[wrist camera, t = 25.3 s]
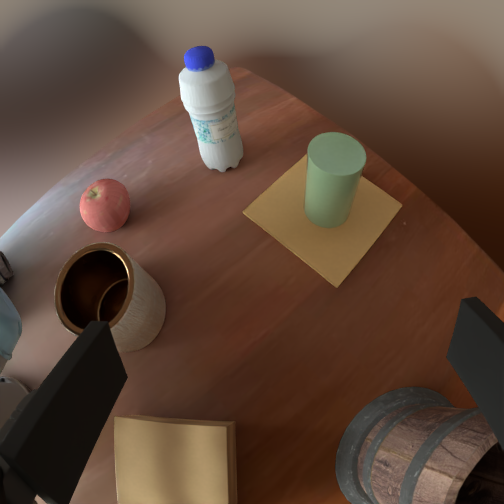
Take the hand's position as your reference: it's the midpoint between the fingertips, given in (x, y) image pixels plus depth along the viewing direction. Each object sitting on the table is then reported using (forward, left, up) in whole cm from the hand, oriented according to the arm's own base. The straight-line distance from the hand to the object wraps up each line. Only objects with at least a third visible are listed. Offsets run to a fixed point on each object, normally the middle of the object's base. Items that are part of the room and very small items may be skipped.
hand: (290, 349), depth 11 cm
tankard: (+19, +5, -26) cm, 32 cm away
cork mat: (-11, +20, -26) cm, 34 cm away
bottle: (-28, +17, -26) cm, 41 cm away
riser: (-1, -16, -26) cm, 30 cm away
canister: (-10, +20, -25) cm, 34 cm away
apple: (-33, -1, -26) cm, 42 cm away
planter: (-20, -8, -26) cm, 33 cm away
